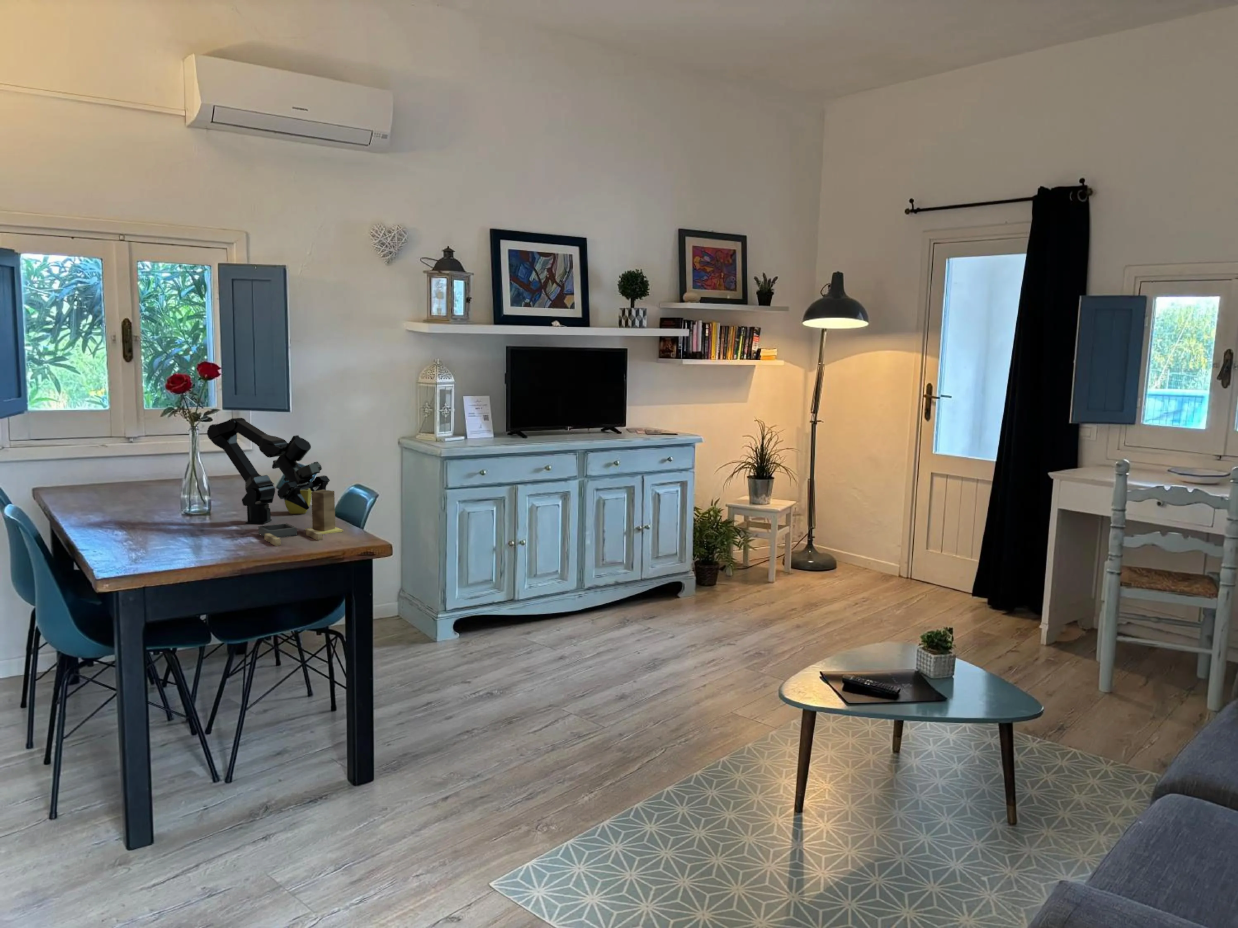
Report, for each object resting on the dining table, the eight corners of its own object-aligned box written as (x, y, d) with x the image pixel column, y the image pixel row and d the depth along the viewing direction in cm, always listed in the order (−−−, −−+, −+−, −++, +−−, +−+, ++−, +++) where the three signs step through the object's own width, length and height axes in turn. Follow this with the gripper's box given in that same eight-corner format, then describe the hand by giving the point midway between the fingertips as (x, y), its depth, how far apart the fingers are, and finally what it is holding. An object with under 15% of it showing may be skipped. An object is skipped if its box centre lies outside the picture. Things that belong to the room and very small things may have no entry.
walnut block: (312, 529, 292) (311, 491, 290) (323, 527, 296) (322, 489, 294) (324, 531, 290) (323, 493, 288) (335, 528, 294) (334, 490, 292)
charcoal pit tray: (258, 533, 287) (258, 526, 286) (286, 530, 293) (286, 523, 292) (268, 539, 280) (267, 531, 280) (296, 535, 286) (296, 527, 285)
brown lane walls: (264, 539, 279) (264, 533, 278) (310, 534, 288) (310, 528, 288) (275, 545, 271) (275, 539, 271) (322, 539, 280) (322, 533, 280)
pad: (305, 530, 293) (305, 528, 293) (332, 526, 299) (332, 525, 299) (315, 535, 287) (315, 533, 287) (343, 531, 292) (343, 529, 292)
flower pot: (283, 515, 317) (282, 490, 316) (287, 510, 325) (286, 486, 324) (309, 515, 319) (308, 490, 317) (312, 510, 327) (312, 486, 326)
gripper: (283, 457, 284) (310, 495, 281) (324, 451, 301) (351, 486, 298) (265, 479, 288) (292, 517, 285) (307, 472, 305) (333, 507, 302)
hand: (318, 506), depth 293 cm, fingers open, 9 cm apart
